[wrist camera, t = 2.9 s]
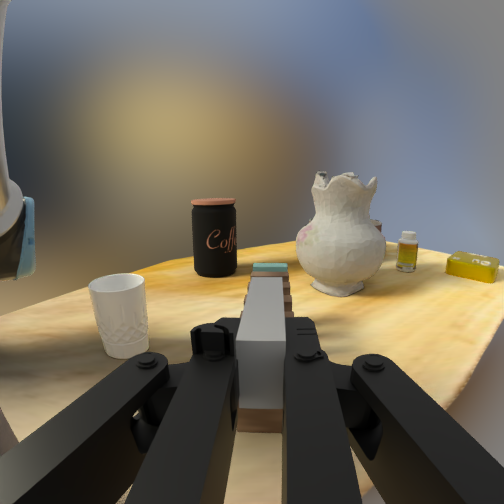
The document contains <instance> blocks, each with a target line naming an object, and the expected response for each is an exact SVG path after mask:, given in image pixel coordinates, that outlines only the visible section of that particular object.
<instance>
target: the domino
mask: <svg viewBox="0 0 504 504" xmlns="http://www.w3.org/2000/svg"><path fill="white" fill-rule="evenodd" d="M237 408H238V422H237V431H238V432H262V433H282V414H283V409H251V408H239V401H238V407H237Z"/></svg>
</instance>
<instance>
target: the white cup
mask: <svg viewBox="0 0 504 504" xmlns="http://www.w3.org/2000/svg"><path fill="white" fill-rule="evenodd" d="M88 288H89V293H90V297H91V302H92V306H93V311H94V315H95V319H96V323H97V326H98V330H99V333H100V336H101V338H102V342H103V346H104V349H105V351H106V353H107V354H108V355H109V356H111V357H113V358H117V359H129V358H131V357H133V356H135V355H137V354H141V353H144V352H146V351H147V350H148V349H149V336H148V316H147V304H146V292H145V279H144V277H142V276H140V275H137V274H114V275H108V276H104V277H100V278H97V279H95V280H93V281H92V282H90V283H89V285H88Z"/></svg>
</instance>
